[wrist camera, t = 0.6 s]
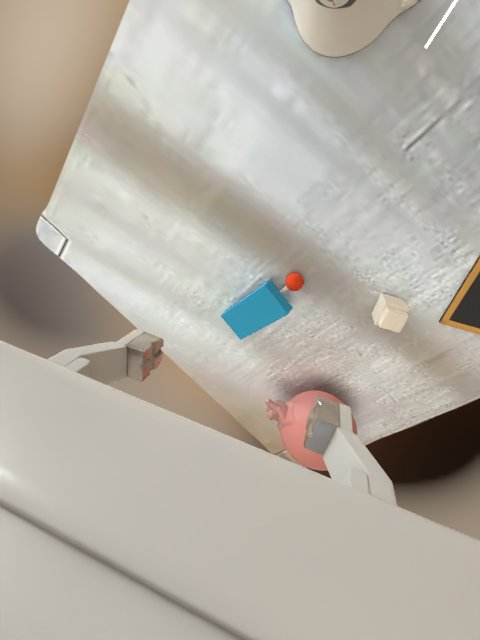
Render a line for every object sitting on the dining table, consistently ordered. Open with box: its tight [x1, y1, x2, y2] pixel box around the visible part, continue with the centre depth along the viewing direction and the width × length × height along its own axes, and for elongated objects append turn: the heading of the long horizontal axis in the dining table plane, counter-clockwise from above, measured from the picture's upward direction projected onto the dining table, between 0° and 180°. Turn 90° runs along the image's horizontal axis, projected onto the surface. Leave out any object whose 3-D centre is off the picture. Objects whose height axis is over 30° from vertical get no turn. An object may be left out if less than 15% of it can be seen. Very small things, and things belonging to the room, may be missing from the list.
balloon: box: [266, 390, 357, 470], centre depth 57 cm, size 15×20×15 cm
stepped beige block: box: [372, 293, 409, 333], centre depth 47 cm, size 4×4×7 cm
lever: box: [221, 273, 304, 339], centre depth 56 cm, size 7×7×18 cm
